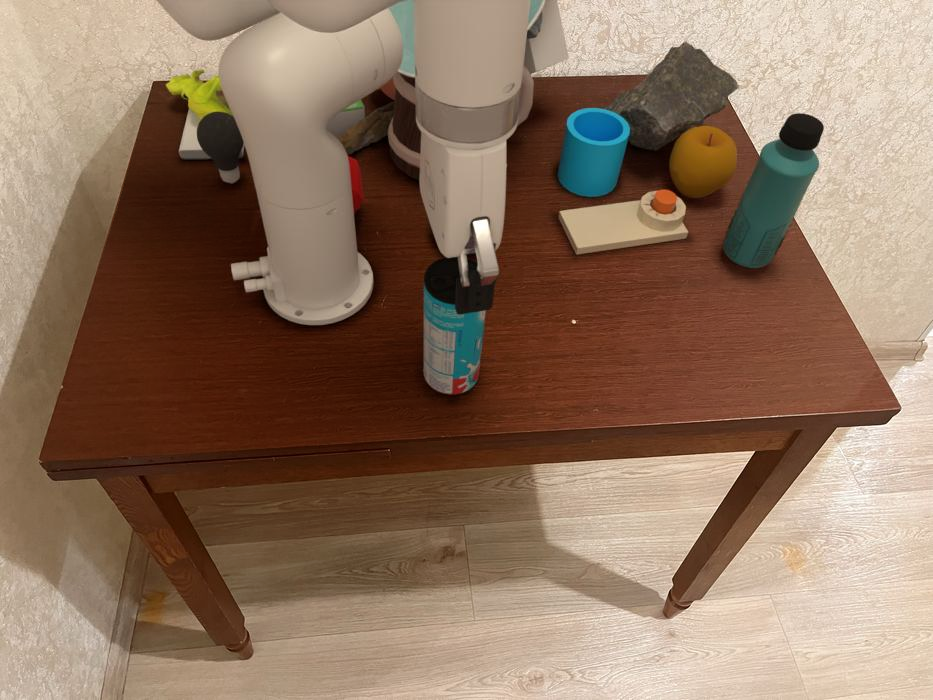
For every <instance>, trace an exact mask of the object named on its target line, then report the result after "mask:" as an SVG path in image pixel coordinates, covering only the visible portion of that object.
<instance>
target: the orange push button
mask: <svg viewBox="0 0 933 700" xmlns="http://www.w3.org/2000/svg"><path fill="white" fill-rule="evenodd" d="M656 191H657V192H656V193H655V196H654V199H653V202H652V209H653V210H654V211H656V212H657V213H660V214H665V215H666V214H670V213H672V212H673V210H674V207H675V204H676V201H677V197H678V195H676V193H675V192H673V191H671V190H669V189H659V190H656Z"/></svg>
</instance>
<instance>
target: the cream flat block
mask: <svg viewBox="0 0 933 700" xmlns="http://www.w3.org/2000/svg"><path fill="white" fill-rule="evenodd" d="M657 191H658V190H654V191H653V190H652V191H648V192H647V193H646V194H644V195H642V196H641V198H640V199H637V200H631V201H624V202H616V203H607V204H601V205H595V206H594V205H593V206H587V207H586V206H585V207H579V208H572V209H565V210H559V212H558V221H559V222H560V224H561V226H562V229H563V230H564V233H565V234H566V237H567V239H568V241H569V243H570V245H571V247H572V249H573V251H574V253H575V255H584V254H590V253H598V252H603V251H611V250H619V249H624V248H630V247H638V246H639V247H640V246H645V245H653V244H658V243H665V242H672V241H678V240H685V239H687V237H688V236H689V235H688V234H689V230H688V229H687V227H686V225H685V224H684V222H683V220H684V218H685V215H686V210H687V206H686V204H685V203H684V201H683V200H682V198H680V197H679V196H677V201H676V204H675V207H674V210H673V212H672V213H670V214H666V215H665V214H660V213H657V212H656V211H654V210H653V209H652V202H653V199H654V196H655V193H656V192H657Z"/></svg>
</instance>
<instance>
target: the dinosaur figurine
mask: <svg viewBox="0 0 933 700" xmlns="http://www.w3.org/2000/svg"><path fill="white" fill-rule="evenodd" d="M204 73H205V69H204V68H201V69H199V70H196V69H195V70H193V71H192V72H191V75H190V74H189V73H185V74H182V75H177V76H172V77H171V78H170V80H169V81H168V82H167V83H166V84H165V87H166V89H167V90H168V92H169V93H171V94H172V96H177V95H181V98H182V99H184V100H186V101H187V103H188V104H187V107H188V110H189V109H190V110H192V111H193V112H194V113H195V114H196V115H197V116H198V117H199V118H200V119H202V118H203V117H204V116H206V115H207V114H209V113H212V112H218V111H219V112H225V113H228V114H230V115H232V116H233V114H232V113H231V110H230V108H229V106H228V103H227V101H226V99H225V96H224V94H223V91H222V88H221V84H220V81H219V75H214V76H213V77H212V78H210V79H209V80H207V81H206V82H204V81H203V80H202V79H201V78H200V76H201V75H203V74H204ZM233 117H234V116H233Z"/></svg>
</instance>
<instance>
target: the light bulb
mask: <svg viewBox="0 0 933 700" xmlns="http://www.w3.org/2000/svg"><path fill="white" fill-rule="evenodd" d="M197 140H198V142H199V145H200V147H201V148H202V150H203V151H204V152H205V153H206V154H207V155H208V156H209V157H210V158H212V159H211V160H212V161H213V162H214V164H215V166H216V168H217V169H218V172H219V176H220V178H221V180H222V181H223V182H225V183H228V184H234V183H235V184H236V182H237V181H239V179H240V178H241V172H240V166H239V164H240V158H239V154H240V152H241V150H242V148H243V144H244V141H243V139H242V136H241V133H240V131H239V128H238V126H237V123H236V121H235V119H234V117H233V116H232V115H230V114H228V113H225V112H219V111H218V112H212V113H209V114H207V115H206V116H204V117H203V118H202V120H201V121H200V122H199V124H198V127H197Z"/></svg>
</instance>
